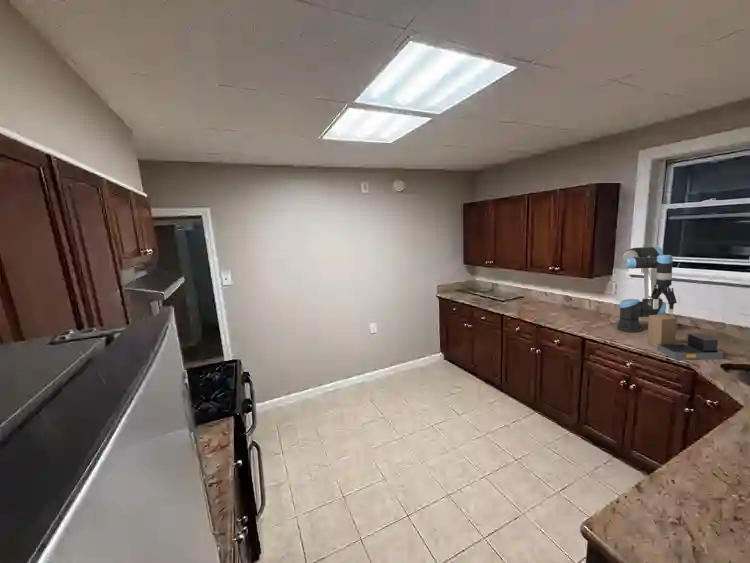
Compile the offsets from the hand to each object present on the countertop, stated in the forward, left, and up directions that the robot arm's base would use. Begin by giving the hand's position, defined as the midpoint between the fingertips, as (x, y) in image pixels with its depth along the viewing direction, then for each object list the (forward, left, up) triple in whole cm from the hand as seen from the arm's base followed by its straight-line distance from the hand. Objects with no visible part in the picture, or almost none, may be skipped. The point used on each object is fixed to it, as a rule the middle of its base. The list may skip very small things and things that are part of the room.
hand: (662, 311), depth 213 cm
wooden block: (0, 0, -24) cm, 24 cm away
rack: (+16, +5, -24) cm, 29 cm away
